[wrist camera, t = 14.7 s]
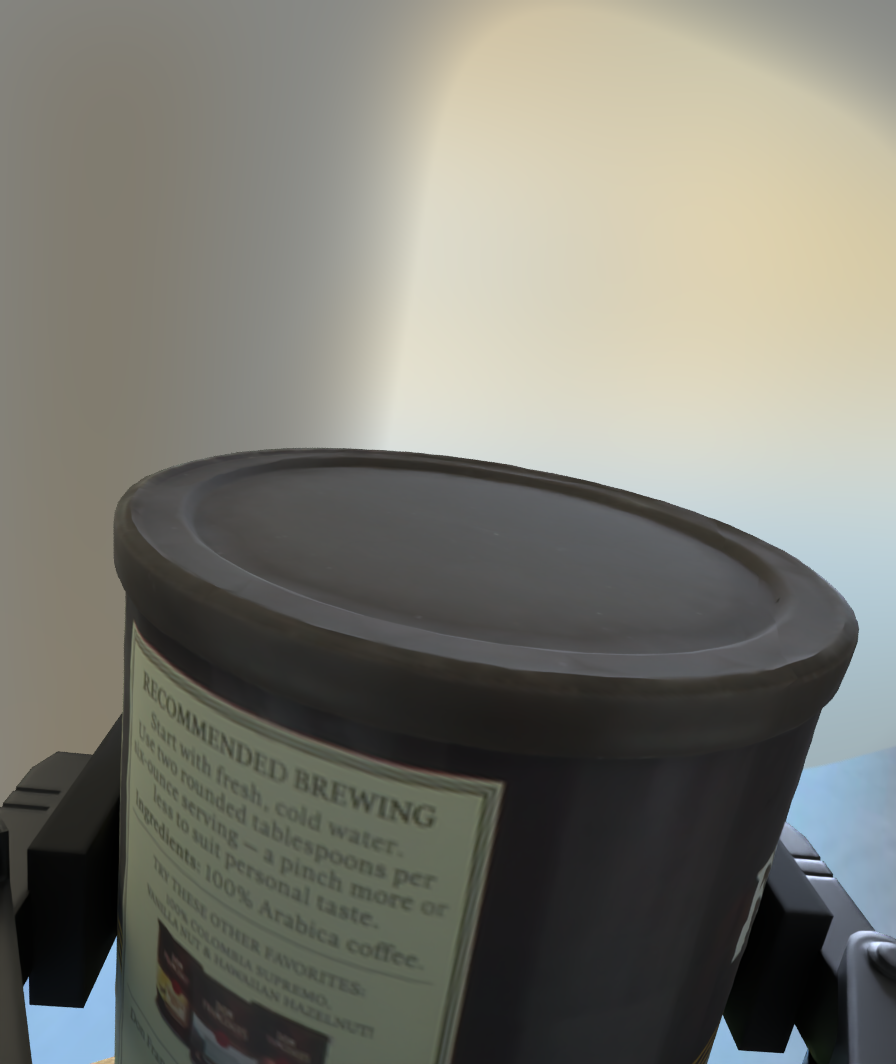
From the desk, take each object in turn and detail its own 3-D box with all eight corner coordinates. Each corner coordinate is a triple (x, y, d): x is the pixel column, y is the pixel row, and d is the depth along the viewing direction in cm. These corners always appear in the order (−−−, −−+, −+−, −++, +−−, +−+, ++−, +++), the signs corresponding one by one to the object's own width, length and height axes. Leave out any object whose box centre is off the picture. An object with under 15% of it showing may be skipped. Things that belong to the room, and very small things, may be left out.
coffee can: (592, 995, 20) (722, 492, 16) (691, 1652, 10) (1089, 770, 6) (217, 933, 20) (255, 419, 16) (-45, 1523, 10) (-111, 578, 6)
